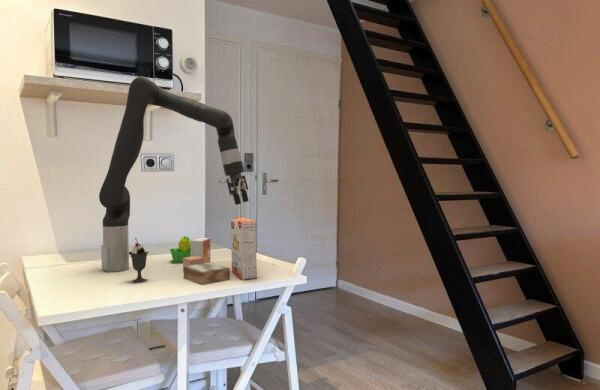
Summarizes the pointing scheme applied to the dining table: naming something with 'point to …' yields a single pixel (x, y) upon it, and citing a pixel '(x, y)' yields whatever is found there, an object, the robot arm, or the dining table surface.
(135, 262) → the sundae
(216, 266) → the block
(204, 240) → the small box
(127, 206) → the robot arm
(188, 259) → the cube
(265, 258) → the dining table surface
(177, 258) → the fruit basket
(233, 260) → the cracker box
